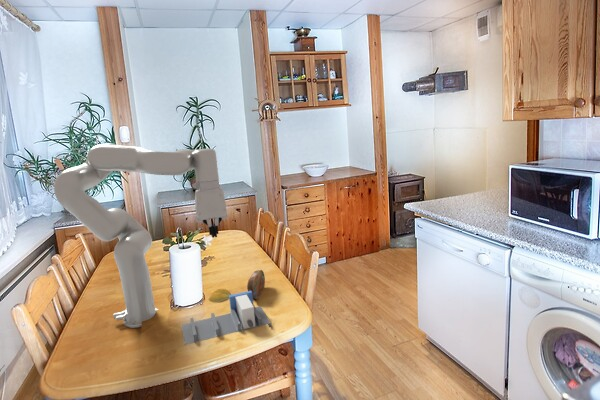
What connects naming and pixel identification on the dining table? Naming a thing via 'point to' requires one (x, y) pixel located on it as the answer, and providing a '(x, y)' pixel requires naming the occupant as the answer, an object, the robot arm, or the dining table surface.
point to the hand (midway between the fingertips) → (214, 236)
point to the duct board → (221, 322)
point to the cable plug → (245, 311)
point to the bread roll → (219, 295)
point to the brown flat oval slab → (256, 283)
